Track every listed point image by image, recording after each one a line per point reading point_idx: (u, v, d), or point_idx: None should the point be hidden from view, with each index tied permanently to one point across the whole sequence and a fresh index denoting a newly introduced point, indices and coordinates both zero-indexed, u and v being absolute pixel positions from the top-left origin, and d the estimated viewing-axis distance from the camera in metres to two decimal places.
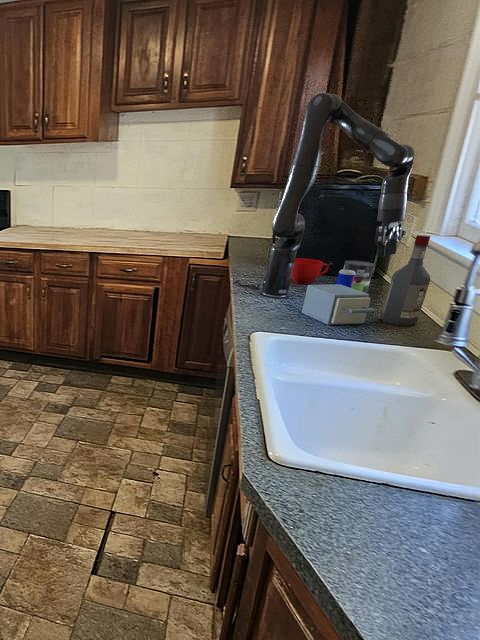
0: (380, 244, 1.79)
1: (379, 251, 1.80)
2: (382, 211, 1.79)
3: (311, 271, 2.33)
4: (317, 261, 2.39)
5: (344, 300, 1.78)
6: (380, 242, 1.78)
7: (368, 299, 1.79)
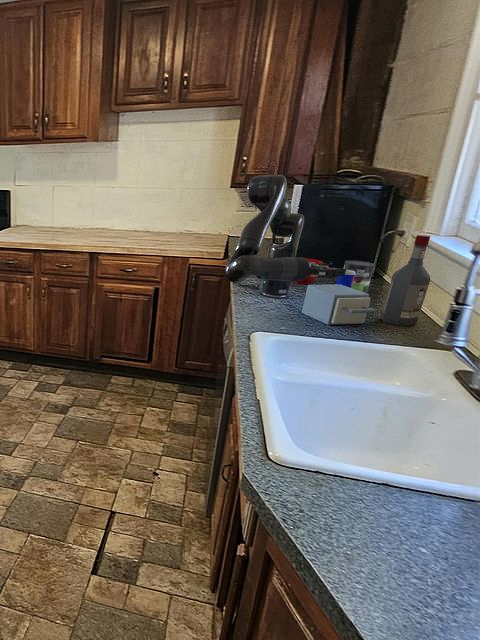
0: None
1: None
2: None
3: None
4: (317, 261, 2.39)
5: (344, 300, 1.78)
6: None
7: (368, 299, 1.79)
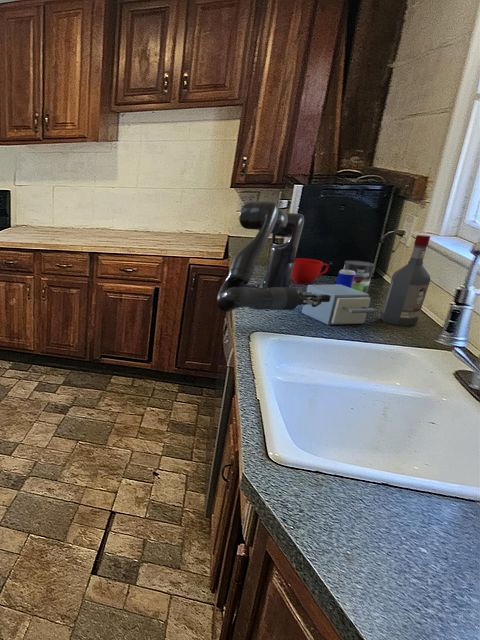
0: None
1: None
2: None
3: (311, 271, 2.33)
4: (317, 261, 2.39)
5: (344, 300, 1.78)
6: None
7: (368, 299, 1.79)
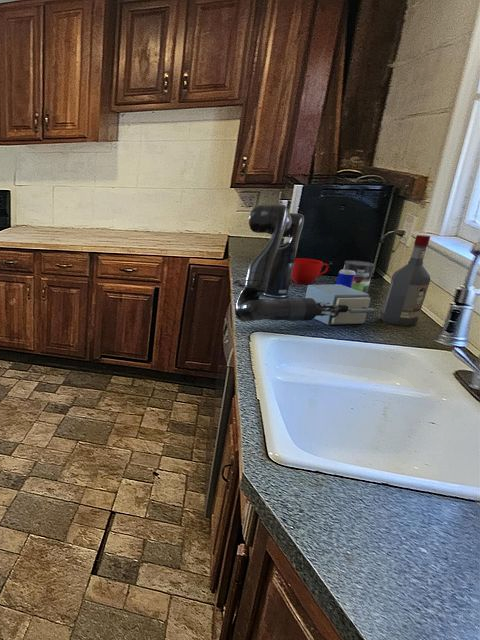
0: None
1: None
2: None
3: (311, 271, 2.33)
4: (317, 261, 2.39)
5: (344, 300, 1.78)
6: None
7: (368, 299, 1.79)
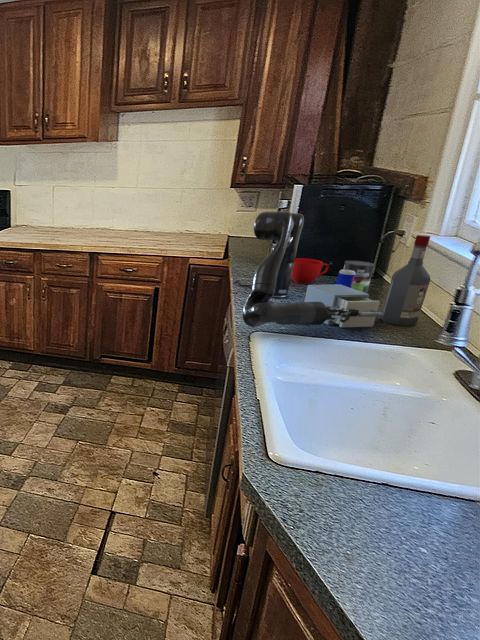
0: None
1: None
2: None
3: (311, 271, 2.33)
4: (317, 261, 2.39)
5: (353, 303, 1.74)
6: None
7: (377, 302, 1.75)
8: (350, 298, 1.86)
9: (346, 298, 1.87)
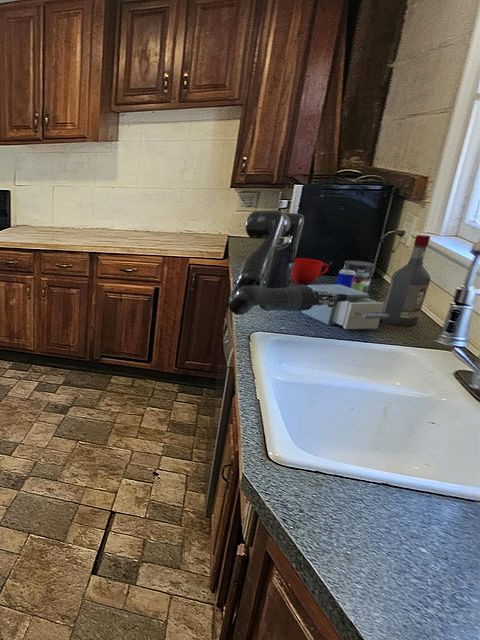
0: None
1: None
2: None
3: (311, 271, 2.33)
4: (317, 261, 2.39)
5: (357, 305, 1.72)
6: None
7: (382, 304, 1.73)
8: (354, 299, 1.84)
9: (350, 299, 1.85)
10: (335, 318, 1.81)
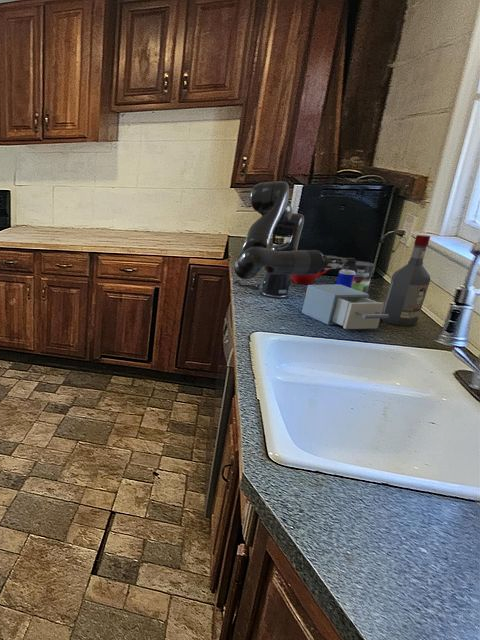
0: None
1: None
2: None
3: None
4: None
5: (357, 305, 1.72)
6: None
7: (382, 304, 1.73)
8: (354, 299, 1.84)
9: (350, 299, 1.85)
10: (335, 318, 1.81)
